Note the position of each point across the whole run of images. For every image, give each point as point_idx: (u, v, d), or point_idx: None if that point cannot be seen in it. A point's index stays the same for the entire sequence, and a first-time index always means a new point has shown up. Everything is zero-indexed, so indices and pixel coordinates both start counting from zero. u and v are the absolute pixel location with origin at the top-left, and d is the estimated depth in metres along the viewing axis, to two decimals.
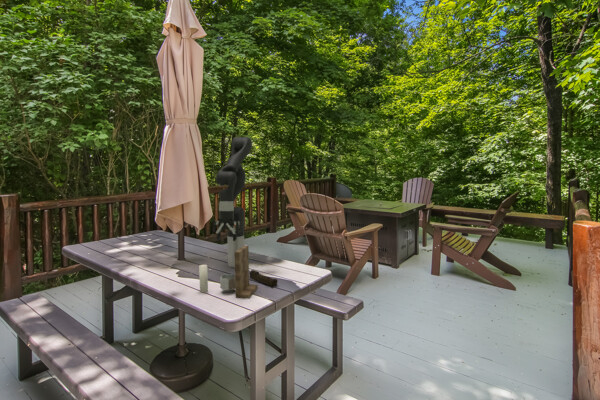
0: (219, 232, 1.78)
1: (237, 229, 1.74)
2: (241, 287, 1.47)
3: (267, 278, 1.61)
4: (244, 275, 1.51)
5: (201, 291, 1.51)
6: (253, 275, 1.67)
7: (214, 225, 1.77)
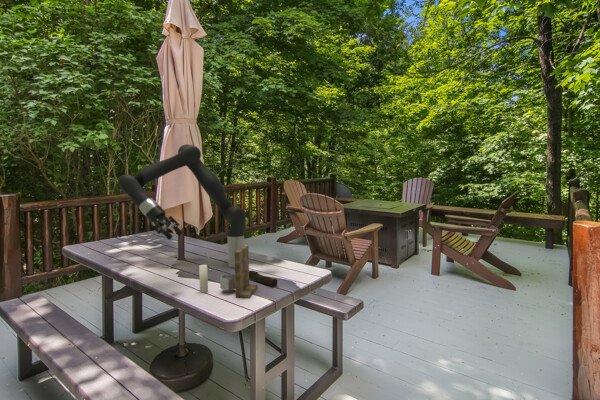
0: (175, 227, 1.57)
1: None
2: (241, 287, 1.47)
3: (267, 278, 1.60)
4: (244, 275, 1.51)
5: (201, 291, 1.51)
6: (252, 275, 1.67)
7: None
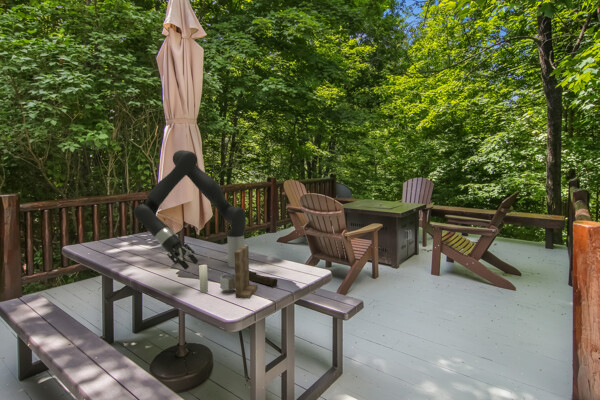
0: (191, 255, 1.57)
1: None
2: (241, 287, 1.47)
3: (267, 278, 1.60)
4: (244, 275, 1.51)
5: (201, 291, 1.51)
6: (251, 276, 1.66)
7: None
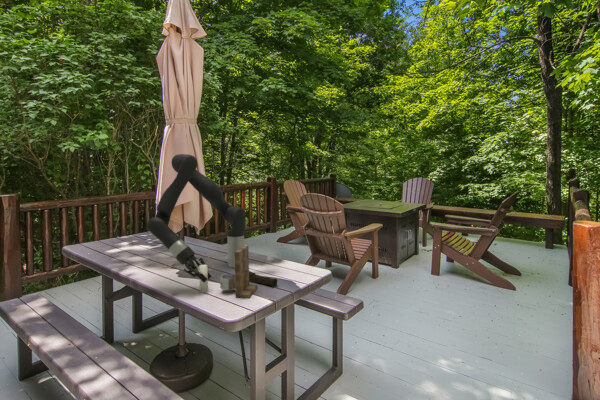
0: None
1: None
2: (241, 287, 1.47)
3: (267, 278, 1.60)
4: (244, 275, 1.51)
5: (201, 291, 1.51)
6: (249, 276, 1.65)
7: None
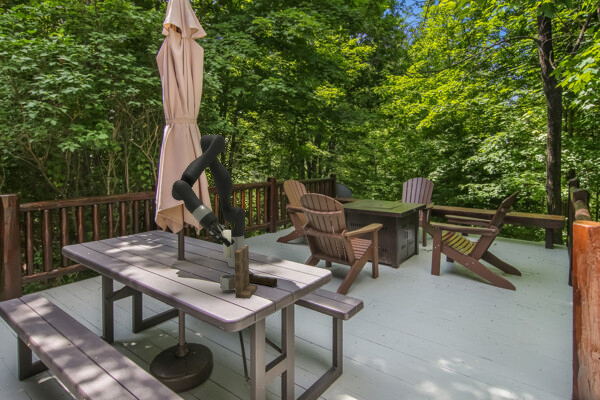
0: None
1: None
2: (241, 287, 1.47)
3: (266, 279, 1.60)
4: (244, 275, 1.51)
5: (225, 256, 1.50)
6: None
7: None
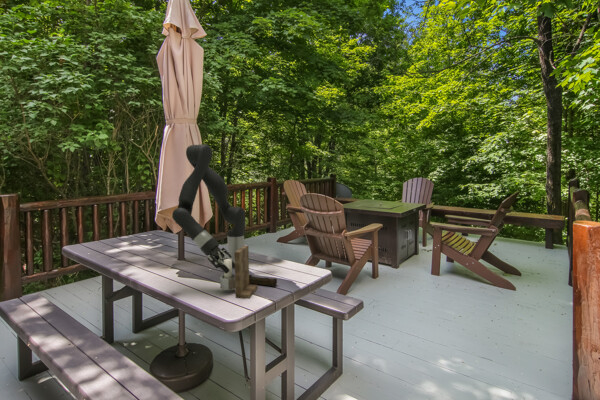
0: None
1: None
2: (241, 287, 1.47)
3: (266, 279, 1.59)
4: (244, 275, 1.51)
5: None
6: None
7: None
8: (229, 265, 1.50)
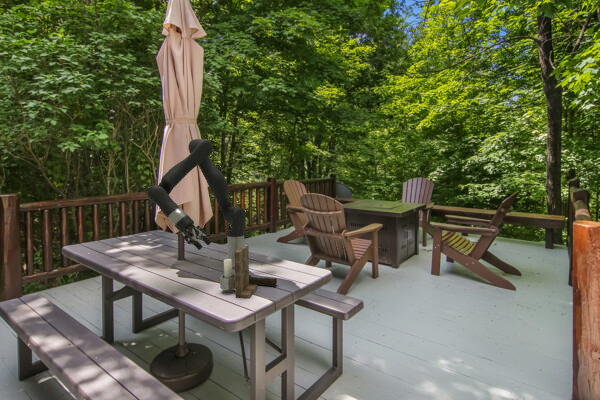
0: (203, 237, 1.57)
1: None
2: (241, 287, 1.47)
3: (266, 279, 1.59)
4: (244, 275, 1.51)
5: None
6: None
7: None
8: (229, 265, 1.50)
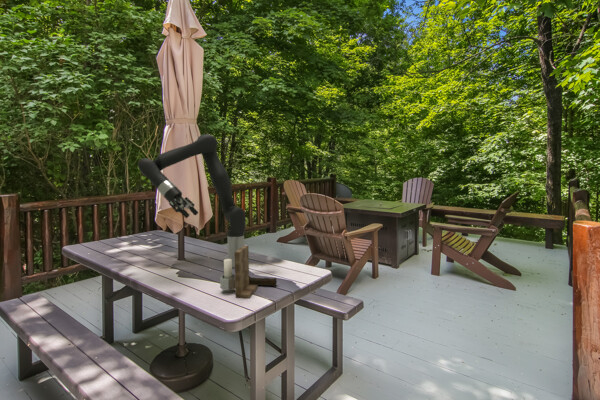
0: (191, 207, 1.67)
1: None
2: (241, 287, 1.47)
3: (266, 279, 1.59)
4: (244, 275, 1.51)
5: None
6: None
7: None
8: (229, 265, 1.50)
